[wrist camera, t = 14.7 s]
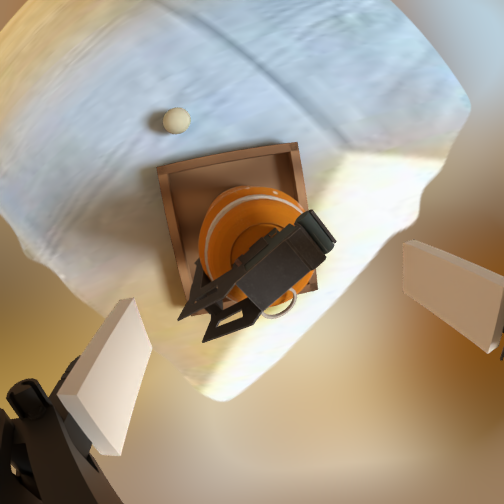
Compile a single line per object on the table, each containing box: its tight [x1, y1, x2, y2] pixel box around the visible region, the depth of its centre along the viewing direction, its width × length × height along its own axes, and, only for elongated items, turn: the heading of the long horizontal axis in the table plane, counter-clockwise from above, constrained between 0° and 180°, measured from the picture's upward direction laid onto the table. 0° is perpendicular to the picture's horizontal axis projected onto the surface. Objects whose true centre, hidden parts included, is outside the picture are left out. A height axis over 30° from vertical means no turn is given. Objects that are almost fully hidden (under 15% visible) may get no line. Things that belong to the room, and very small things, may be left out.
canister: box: [177, 186, 337, 343], centre depth 24 cm, size 9×11×20 cm
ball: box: [163, 108, 191, 134], centre depth 29 cm, size 3×3×3 cm
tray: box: [157, 142, 318, 316], centre depth 33 cm, size 18×16×3 cm
